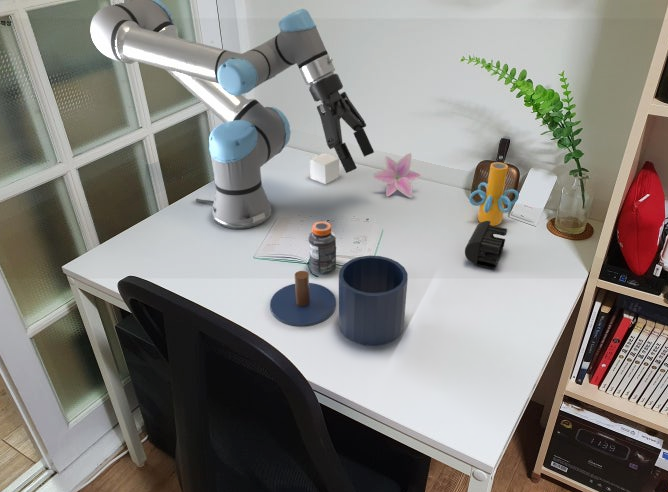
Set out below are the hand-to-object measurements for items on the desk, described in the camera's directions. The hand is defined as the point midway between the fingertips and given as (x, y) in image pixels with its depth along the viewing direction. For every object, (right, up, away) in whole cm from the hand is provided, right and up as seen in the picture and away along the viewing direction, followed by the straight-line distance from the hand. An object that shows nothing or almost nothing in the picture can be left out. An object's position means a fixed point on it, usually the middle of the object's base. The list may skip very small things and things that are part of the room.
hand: (360, 162), depth 137 cm
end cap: (+28, -23, -7) cm, 37 cm away
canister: (0, -38, -26) cm, 46 cm away
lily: (+11, -4, +20) cm, 23 cm away
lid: (-13, -34, -21) cm, 42 cm away
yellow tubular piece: (+33, -14, +6) cm, 36 cm away
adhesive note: (-9, +1, +28) cm, 29 cm away
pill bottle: (-9, -26, -10) cm, 29 cm away
